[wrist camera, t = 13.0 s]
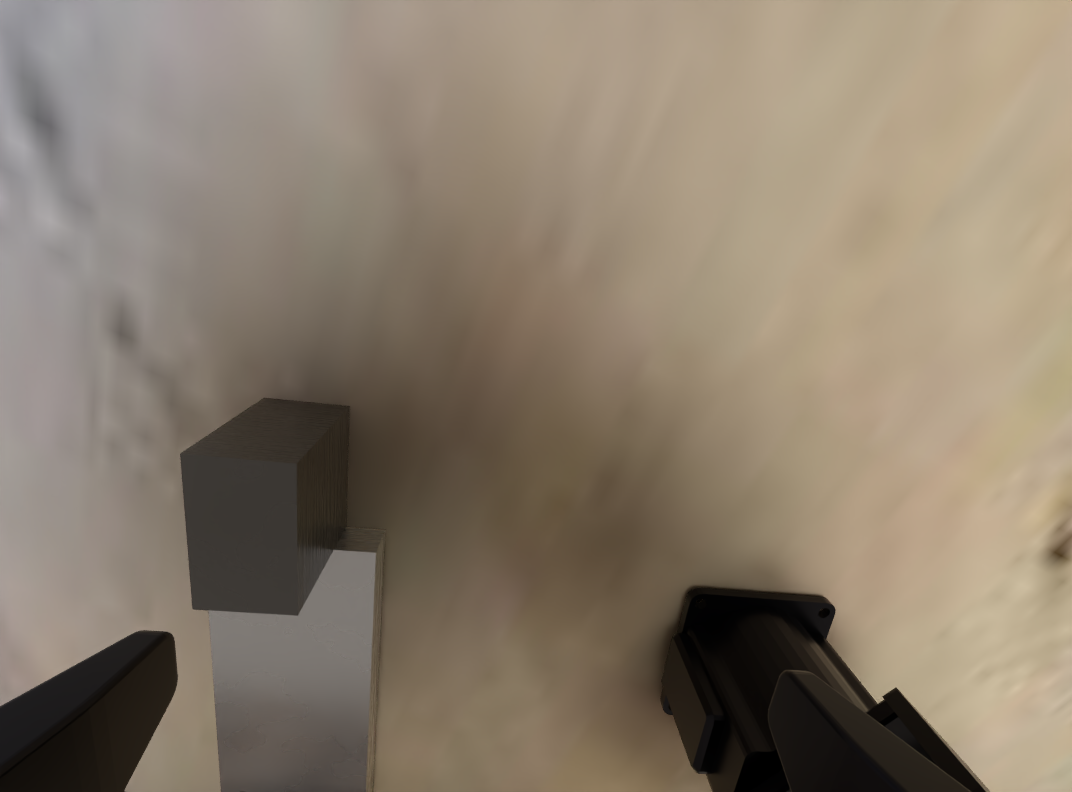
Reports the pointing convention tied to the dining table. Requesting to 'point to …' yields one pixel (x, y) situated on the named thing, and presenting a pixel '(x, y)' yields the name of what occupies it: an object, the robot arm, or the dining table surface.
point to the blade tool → (286, 599)
